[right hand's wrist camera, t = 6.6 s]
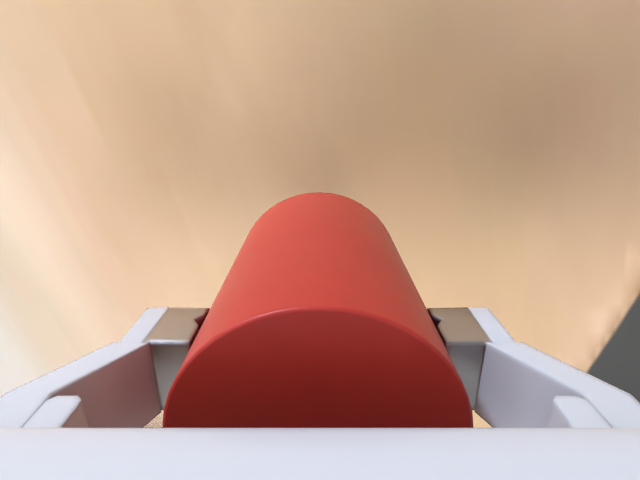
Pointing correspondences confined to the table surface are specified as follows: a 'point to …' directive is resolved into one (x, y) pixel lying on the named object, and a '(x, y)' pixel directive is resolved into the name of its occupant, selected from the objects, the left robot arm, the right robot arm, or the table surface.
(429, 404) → the can
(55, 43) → the table surface
